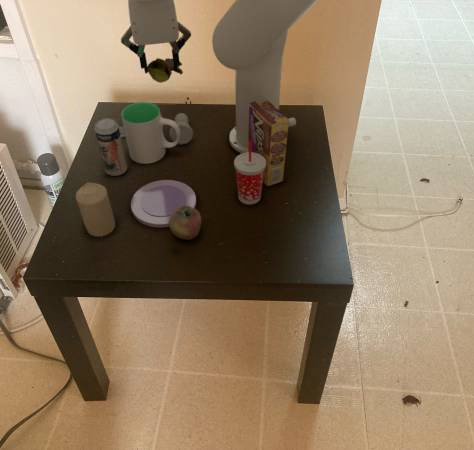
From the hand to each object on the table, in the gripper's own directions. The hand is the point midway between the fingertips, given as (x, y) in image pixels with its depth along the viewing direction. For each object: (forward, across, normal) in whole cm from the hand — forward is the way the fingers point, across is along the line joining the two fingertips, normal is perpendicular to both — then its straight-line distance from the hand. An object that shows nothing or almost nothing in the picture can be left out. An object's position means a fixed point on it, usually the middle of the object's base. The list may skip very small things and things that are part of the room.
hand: (160, 68), depth 113 cm
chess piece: (+9, -2, +14) cm, 17 cm away
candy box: (+13, -19, +28) cm, 36 cm away
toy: (-1, +1, +3) cm, 3 cm away
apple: (+12, 0, +43) cm, 45 cm away
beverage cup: (+13, -14, +34) cm, 39 cm away
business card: (+12, +12, +6) cm, 18 cm away
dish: (+12, +3, +34) cm, 36 cm away
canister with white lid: (+12, +12, +21) cm, 27 cm away
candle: (+12, +15, +38) cm, 43 cm away
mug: (+12, +4, +16) cm, 21 cm away
